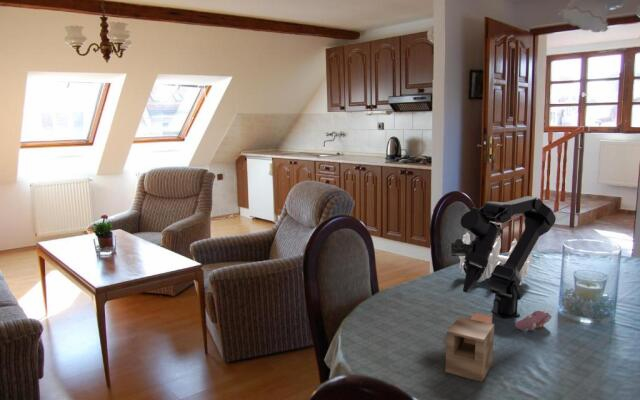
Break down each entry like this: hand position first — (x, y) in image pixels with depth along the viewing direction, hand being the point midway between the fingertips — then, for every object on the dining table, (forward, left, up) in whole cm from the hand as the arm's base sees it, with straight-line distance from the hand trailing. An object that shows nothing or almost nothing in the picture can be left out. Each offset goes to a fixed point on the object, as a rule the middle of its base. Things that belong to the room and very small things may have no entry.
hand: (464, 290), depth 145 cm
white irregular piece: (-32, -37, -13) cm, 51 cm away
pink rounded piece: (-21, +3, -13) cm, 25 cm away
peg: (+4, +15, -7) cm, 17 cm away
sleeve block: (+9, +20, -13) cm, 25 cm away
